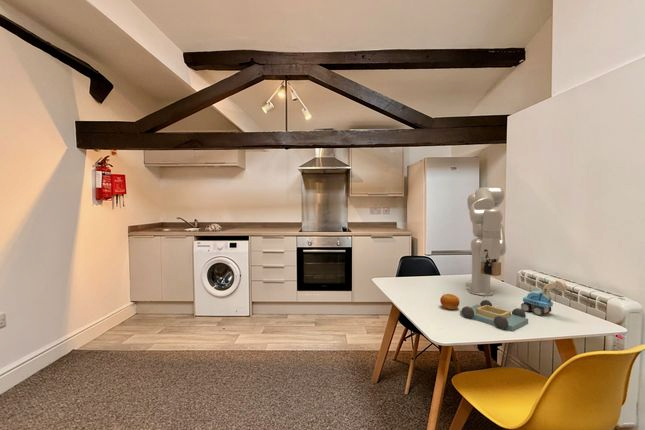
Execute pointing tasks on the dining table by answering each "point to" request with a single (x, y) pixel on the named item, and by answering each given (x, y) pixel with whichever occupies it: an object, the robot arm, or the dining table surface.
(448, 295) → the fruit
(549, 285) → the toy excavator
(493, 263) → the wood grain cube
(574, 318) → the dining table surface
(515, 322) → the chassis
